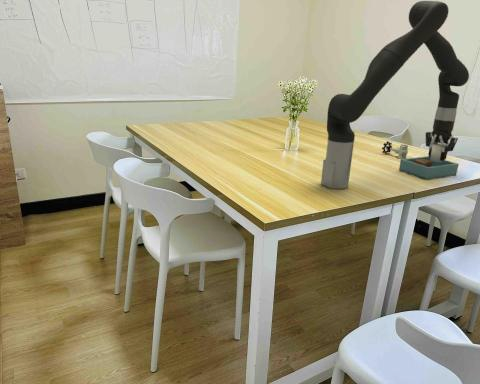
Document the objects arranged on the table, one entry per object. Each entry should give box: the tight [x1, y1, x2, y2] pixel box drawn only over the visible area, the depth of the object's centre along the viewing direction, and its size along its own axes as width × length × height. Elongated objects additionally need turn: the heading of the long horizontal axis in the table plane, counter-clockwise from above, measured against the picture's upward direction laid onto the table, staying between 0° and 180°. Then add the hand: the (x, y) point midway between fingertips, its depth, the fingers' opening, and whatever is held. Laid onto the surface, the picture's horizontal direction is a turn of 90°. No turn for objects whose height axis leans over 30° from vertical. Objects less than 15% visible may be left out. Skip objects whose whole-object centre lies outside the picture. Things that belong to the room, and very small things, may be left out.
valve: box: [381, 140, 409, 160], centre depth 189 cm, size 7×7×12 cm
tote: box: [398, 155, 460, 181], centre depth 164 cm, size 18×14×5 cm
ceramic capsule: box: [430, 143, 443, 163], centre depth 163 cm, size 5×5×7 cm
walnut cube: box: [414, 159, 433, 167], centre depth 162 cm, size 5×5×5 cm
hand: (436, 158), depth 164 cm, fingers closed on ceramic capsule, 5 cm apart
